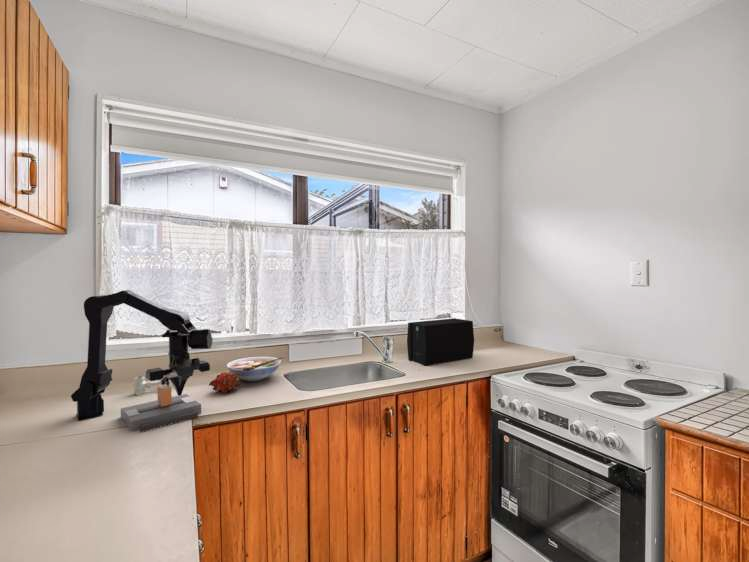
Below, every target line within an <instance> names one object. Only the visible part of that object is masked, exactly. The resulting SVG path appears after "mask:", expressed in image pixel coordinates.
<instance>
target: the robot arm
mask: <svg viewBox="0 0 749 562" xmlns="http://www.w3.org/2000/svg"><path fill="white" fill-rule="evenodd" d="M123 304H125V305H127V306H129V307H131V308H134V309H136V310H138V311H140V312H142V313H144V314H146V315H148V316H150V317H153V318H155V319H156V320H157V321H158V322H159V323H161V325H163V326H164V327H166V329H167V330H165V333H163V334H162V335H161V337H162V338H168V352H167V353H168V359H169V362H168V368H166V369H165V368H164V369H162V368H161V367H154V368H148V369H147V370H146V371H145V379H146V380H147V381H148V380H149V381H153V382H154V381H161V380H162V379H163V378H165V377H166V378H167V379H169V381H170V382H171V383H172V385H173V387H174V391H175V393H176V394H177V396H179V395H183V391H184V389H185V385H186V383H187V381H188V380H189V378H190V377H193V375H194V371H196V370H198V371H200V372H201V373H203V372H209V371H211V365H210V363H209V362H208V361H206V360H200V358H199V357H195V358H191V357H190V353H189V348H190V349H191V350H210V349H211V348H212V346H213V337H212V333H211V329H210V328H204V329H197V328H196V326H195V325H194V324H193V322H192V321H191V319H190V315H189V314H188V313H186V312H184V311H181V310H177V309H173V308H168V307H165V306H162V305H160V304H158V303H156V302H155V301H154V302H153V301H152V300H150V299H148V298H146V297H143V296H142V295H139V294H137V293H135V292H133V290H130V289H128V290H127V289H126V290H120V291H118V292H115V293H111V294H103V295H101V294H100V295H93V296H89V297H87V298H86V299H85V300H84V302H83V311H84V316H85V318H86V320H87V321H88V324H89V325H88V343H87V345H88V347H87V359H86V360H87V364H86V368H85V370H84V372H83V373H82V375H81V377H80V378H81V379H80V383H79V387H78V388H77V389H76V390H75V391H73V393H72V394H71V395H70V397H71V400H72V401H73V402H75V403H76V413H75V416H76V418H77V420H78V421H82V420H86V419H92V418H96V417H100V416H103V415H104V412H105V405H104V404H105V403H104V402H105V401H104V398H103V397H102V394H104V393H105V390H106V388H107V387H109V385H110V384H111V381H113V378H112V376H113V368H108V367H107V365H106V354H107V353H106V352H107V335H108V334H107V333H108V321H109V320H110V318H111V317H112V314H113V312H114V307H116V306H120V305H123Z"/></svg>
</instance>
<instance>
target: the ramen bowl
mask: <svg viewBox="0 0 749 562" xmlns="http://www.w3.org/2000/svg"><path fill="white" fill-rule="evenodd" d="M284 358H285V356H283V357H279V358H277V357H273V356H251V357H243V358H239V359H235V360H233V361H232V360H231V361H229V362H228V363H227V364H226V367H227V369H228V370H229V371H231V372H233V373H234V374H238V376H240V378H241V380H243V381H246V382H251V381H252V382H260V381H262V380H264V379H266V378H268V377H269V376H272V375H273V374H274V373H275V372H276V371H277V370H278V368H279V366H280V363H281V362H282V360H281V359H284Z"/></svg>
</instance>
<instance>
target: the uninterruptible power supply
mask: <svg viewBox="0 0 749 562" xmlns="http://www.w3.org/2000/svg"><path fill="white" fill-rule="evenodd" d="M474 332H475V331H474V321H473V320H467V319H462V318H444V319H443V318H442V319H436V320H435V319H432V320H424V321H412V322H407V334H406V336H407V339H406V344H407V345H406V346H407V358H408V359H407V360H408V361H410V362H414V363H417V364H419V365H422V366H423V367H427V366H434V365H435V366H436V365H439V364H446V363H451V362H452V363H453V362H457V361H464V360H469V359H473V358H474V349H475V348H474V346H475V334H474Z"/></svg>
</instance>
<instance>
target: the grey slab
mask: <svg viewBox="0 0 749 562" xmlns="http://www.w3.org/2000/svg"><path fill="white" fill-rule="evenodd" d="M195 418H199V414H198V412H197V411H194V412H190V413H186V414H182V415H179V416H175V417H171V418H167V419H163V420H159V421H155V422H151V423H147V424H143V425H140V429H139V431H140V433H144V432H148V431H151V430H150V429H152V430H154V429H153V428H156V429H158V428H157V427H159V428H161V427H160V426H163V427H165V426H164V425H167V426H169V425H168V424H171V423H174V424H176V423H175V422H178V423H180V422H179V421H182V422H184V421H183V420H185V421H189V420H192V419H195ZM171 425H172V424H171ZM147 430H148V431H147ZM143 431H144V432H143Z"/></svg>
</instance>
